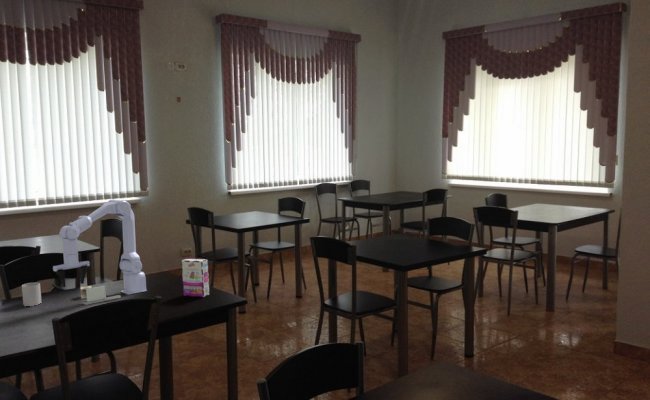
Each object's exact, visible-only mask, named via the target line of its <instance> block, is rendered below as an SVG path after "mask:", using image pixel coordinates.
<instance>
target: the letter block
mask: <svg viewBox="0 0 650 400" xmlns="http://www.w3.org/2000/svg"><path fill="white" fill-rule="evenodd" d="M89 288H92V285H86V286H80V298H81V300H83V299H87V298H86V289H89Z"/></svg>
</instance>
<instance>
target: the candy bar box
mask: <svg viewBox="0 0 650 400" xmlns="http://www.w3.org/2000/svg"><path fill="white" fill-rule="evenodd" d="M181 272H182V273H181V274H182V291H183V297H198V298H205V297H208V296H209V295H210V282H209V281H210V279H209V262H208V259H207V258H206V259H204V258H185V259H182V260H181Z"/></svg>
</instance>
